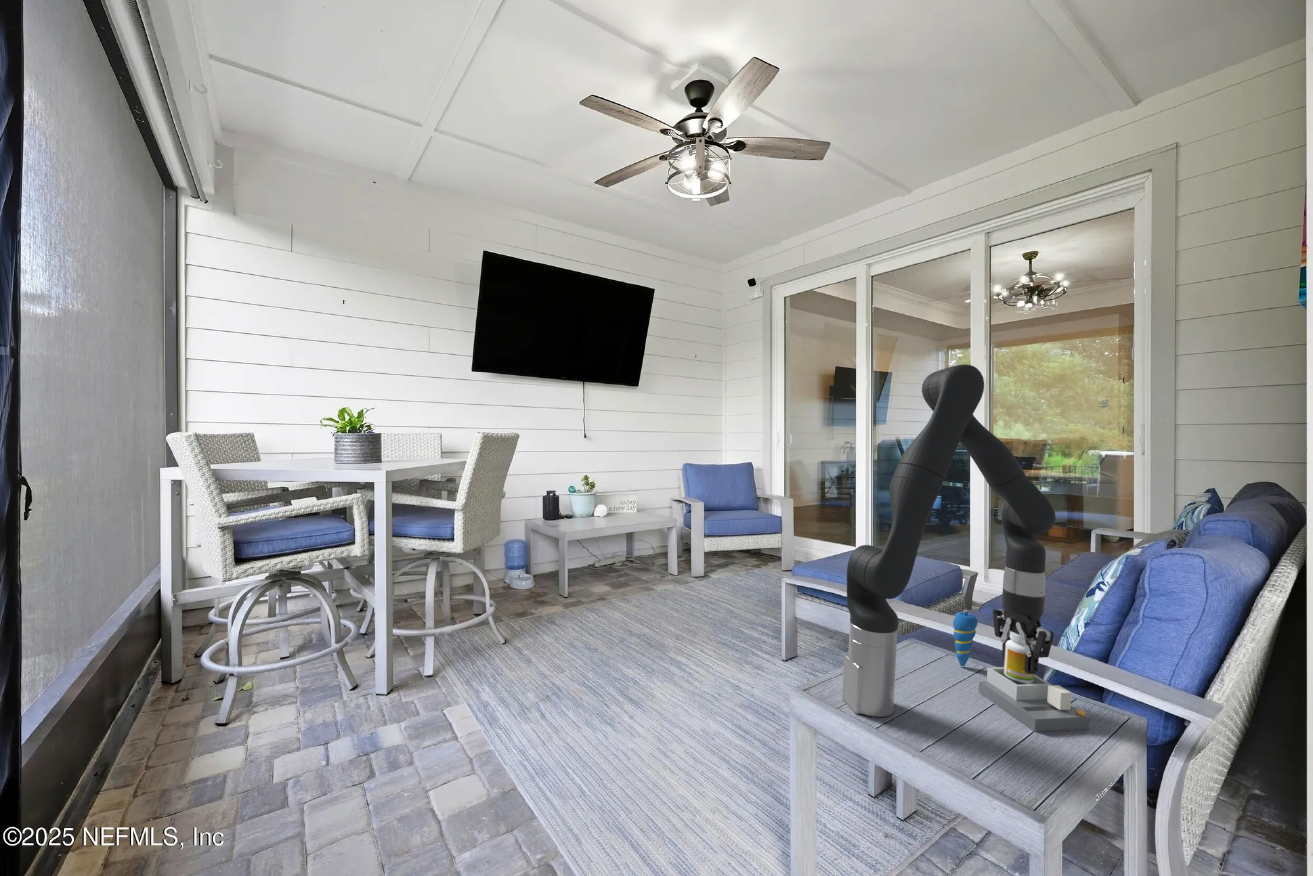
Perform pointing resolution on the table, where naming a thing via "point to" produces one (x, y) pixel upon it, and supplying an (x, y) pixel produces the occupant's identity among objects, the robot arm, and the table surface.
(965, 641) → the ornament
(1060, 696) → the breaker handle
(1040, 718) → the breaker panel
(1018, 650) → the supplement bottle
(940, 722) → the table surface
